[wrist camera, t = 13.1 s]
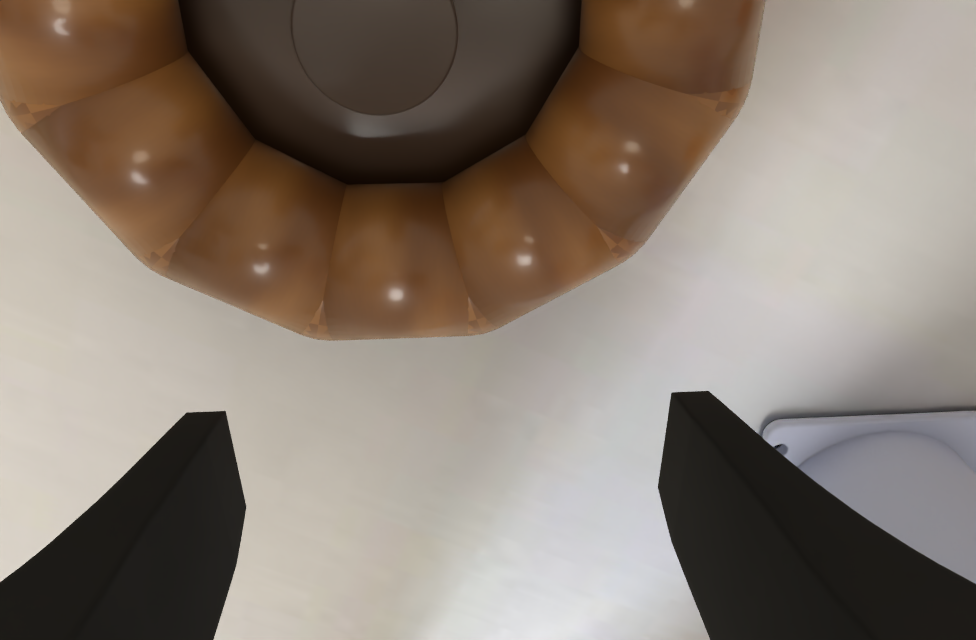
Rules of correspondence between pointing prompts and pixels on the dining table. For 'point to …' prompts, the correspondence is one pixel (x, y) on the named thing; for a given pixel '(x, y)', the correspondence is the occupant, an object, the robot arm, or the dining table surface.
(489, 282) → the ring
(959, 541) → the robot arm
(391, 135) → the stand
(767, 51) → the dining table surface
